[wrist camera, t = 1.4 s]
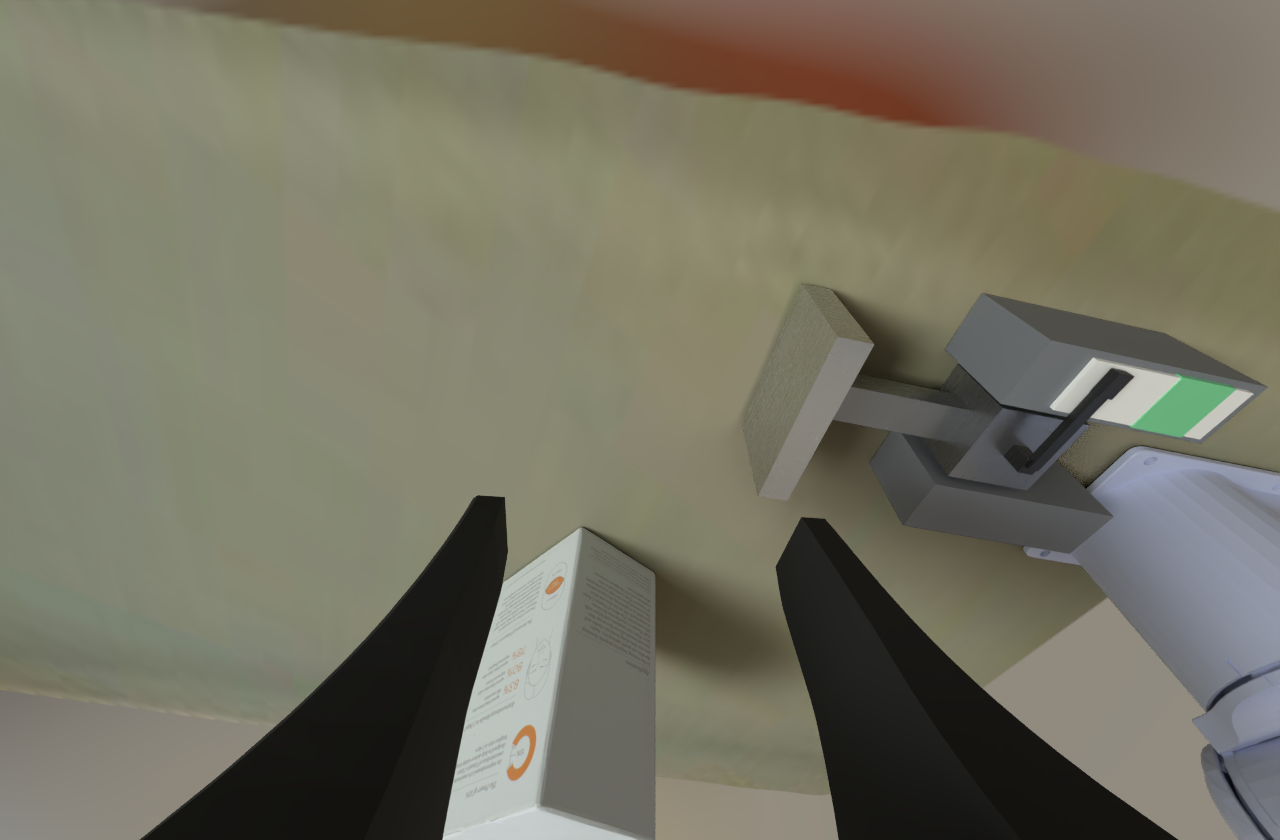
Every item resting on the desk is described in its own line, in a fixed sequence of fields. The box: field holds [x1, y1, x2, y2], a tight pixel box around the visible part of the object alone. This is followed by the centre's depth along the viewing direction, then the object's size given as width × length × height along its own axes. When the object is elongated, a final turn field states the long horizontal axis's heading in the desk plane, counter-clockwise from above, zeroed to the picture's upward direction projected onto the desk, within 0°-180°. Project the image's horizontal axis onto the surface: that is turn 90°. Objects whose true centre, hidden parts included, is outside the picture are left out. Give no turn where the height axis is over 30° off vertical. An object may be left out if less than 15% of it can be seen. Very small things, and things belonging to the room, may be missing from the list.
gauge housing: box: [870, 293, 1268, 554], centre depth 19 cm, size 8×9×4 cm
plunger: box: [742, 283, 1134, 501], centre depth 18 cm, size 11×8×4 cm
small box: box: [442, 527, 656, 840], centre depth 25 cm, size 8×6×13 cm
